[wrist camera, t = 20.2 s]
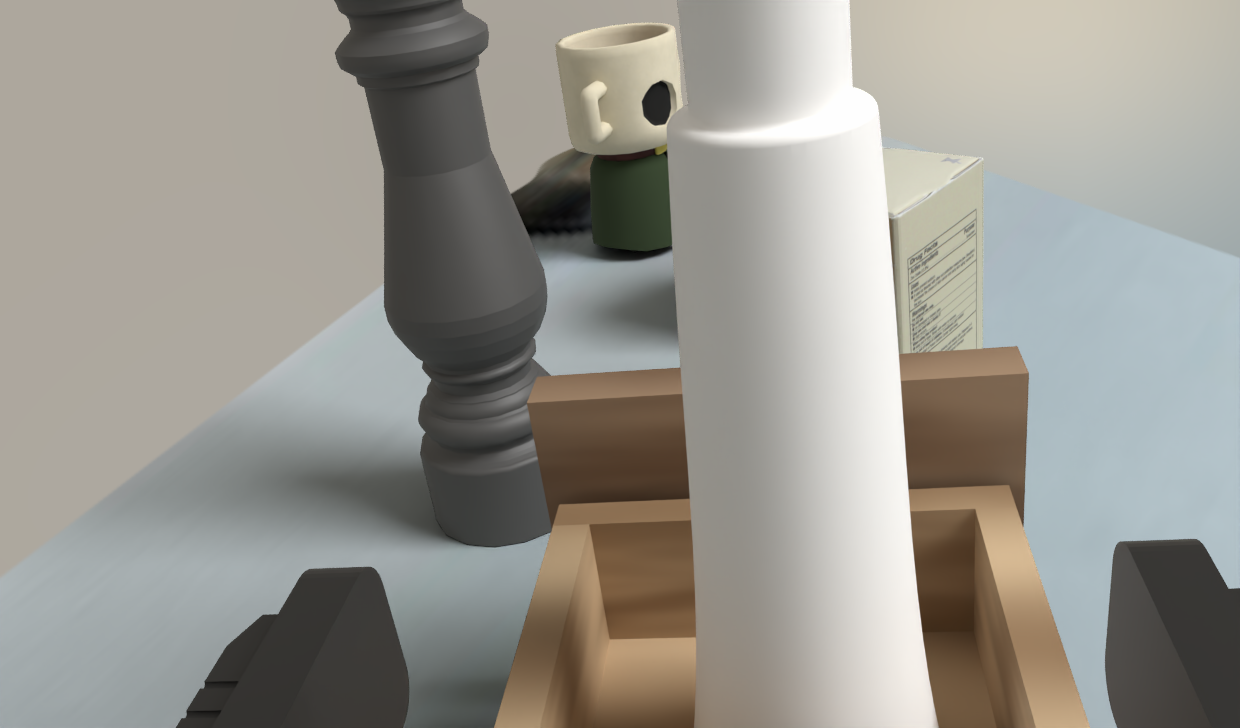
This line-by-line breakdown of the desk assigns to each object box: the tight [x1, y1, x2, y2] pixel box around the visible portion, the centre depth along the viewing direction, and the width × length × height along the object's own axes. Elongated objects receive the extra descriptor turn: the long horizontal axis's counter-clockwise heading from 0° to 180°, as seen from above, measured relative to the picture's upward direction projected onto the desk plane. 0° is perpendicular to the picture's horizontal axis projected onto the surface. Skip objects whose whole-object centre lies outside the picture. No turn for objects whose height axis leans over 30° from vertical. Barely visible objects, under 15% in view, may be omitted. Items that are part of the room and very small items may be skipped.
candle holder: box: [334, 0, 552, 547], centre depth 41 cm, size 6×6×25 cm
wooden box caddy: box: [494, 346, 1090, 728], centre depth 26 cm, size 14×13×11 cm
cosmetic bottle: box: [667, 0, 939, 728], centre depth 21 cm, size 6×6×22 cm
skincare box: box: [882, 147, 983, 354], centre depth 42 cm, size 6×4×12 cm
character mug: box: [556, 23, 683, 252], centre depth 68 cm, size 11×7×13 cm, turn 159°
